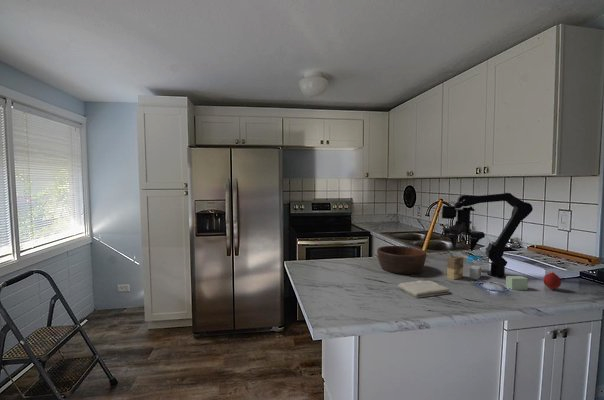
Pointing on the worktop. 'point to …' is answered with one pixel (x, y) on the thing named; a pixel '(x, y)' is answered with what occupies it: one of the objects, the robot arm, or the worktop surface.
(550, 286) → the red rounded lump
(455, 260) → the walnut brick
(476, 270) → the grey brick
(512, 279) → the sage brick
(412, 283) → the washcloth
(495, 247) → the robot arm
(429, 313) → the worktop surface
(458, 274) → the oak brick
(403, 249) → the wooden bowl
